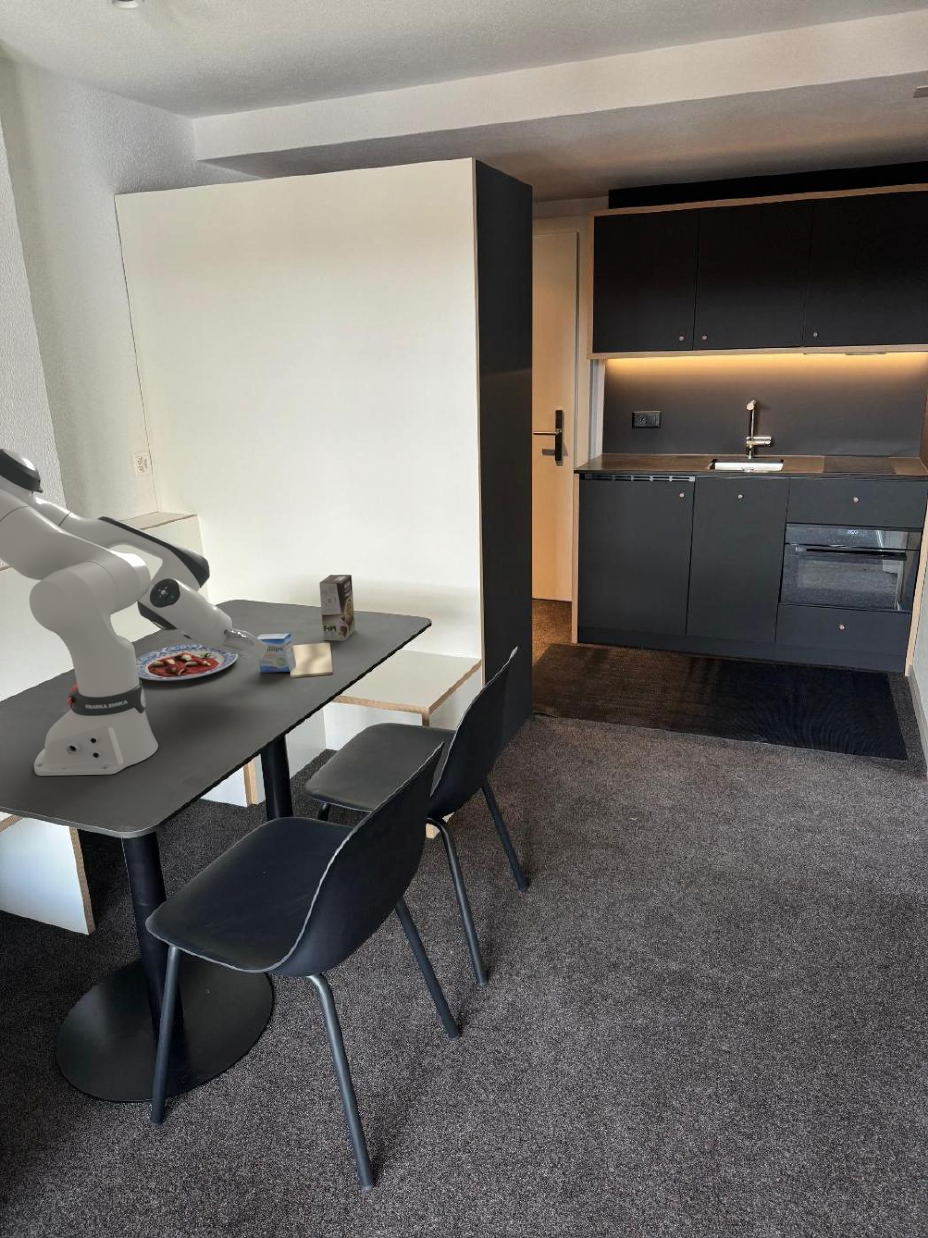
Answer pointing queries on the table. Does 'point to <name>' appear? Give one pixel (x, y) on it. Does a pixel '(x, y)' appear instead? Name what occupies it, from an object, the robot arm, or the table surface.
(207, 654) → the ceramic plate
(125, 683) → the robot arm
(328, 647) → the oak board
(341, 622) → the coffee box
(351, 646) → the table surface
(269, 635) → the medicine box
